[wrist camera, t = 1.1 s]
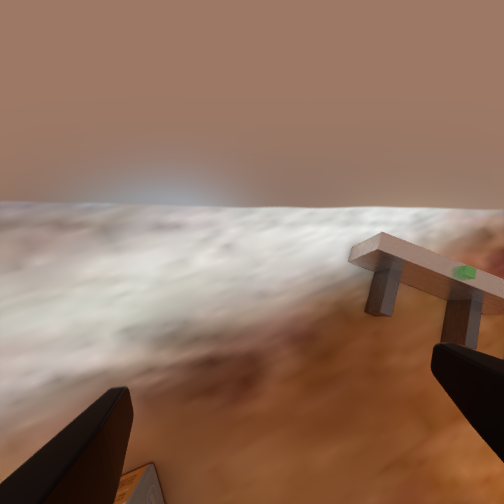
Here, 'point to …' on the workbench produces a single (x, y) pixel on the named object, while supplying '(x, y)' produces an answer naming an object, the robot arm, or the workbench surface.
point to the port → (429, 284)
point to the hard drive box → (139, 487)
